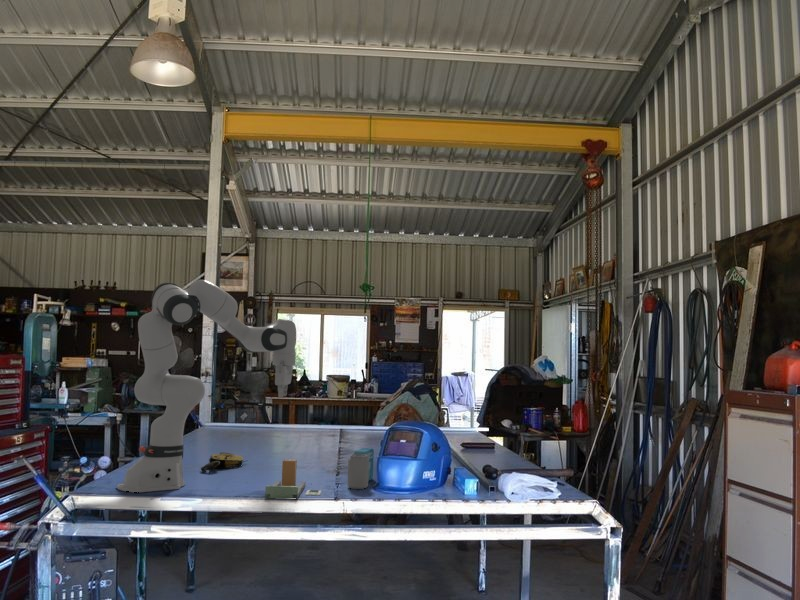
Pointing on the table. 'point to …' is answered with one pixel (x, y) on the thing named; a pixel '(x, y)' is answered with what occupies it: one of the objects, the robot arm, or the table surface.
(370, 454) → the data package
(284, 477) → the orange brown box
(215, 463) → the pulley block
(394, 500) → the table surface
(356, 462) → the can
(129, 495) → the table surface
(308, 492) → the switch channel
